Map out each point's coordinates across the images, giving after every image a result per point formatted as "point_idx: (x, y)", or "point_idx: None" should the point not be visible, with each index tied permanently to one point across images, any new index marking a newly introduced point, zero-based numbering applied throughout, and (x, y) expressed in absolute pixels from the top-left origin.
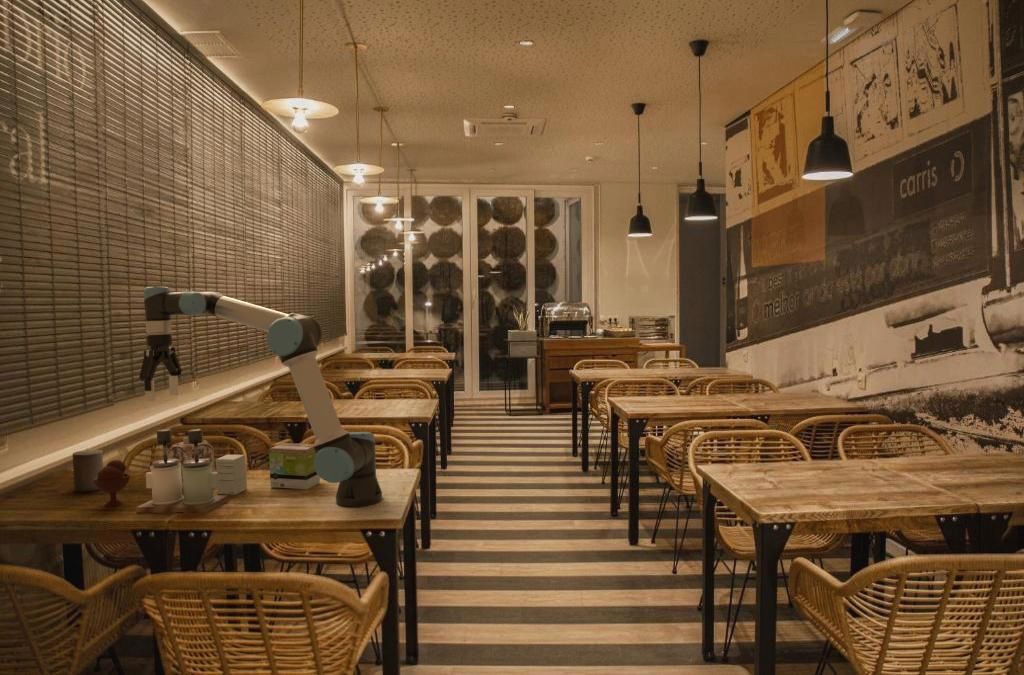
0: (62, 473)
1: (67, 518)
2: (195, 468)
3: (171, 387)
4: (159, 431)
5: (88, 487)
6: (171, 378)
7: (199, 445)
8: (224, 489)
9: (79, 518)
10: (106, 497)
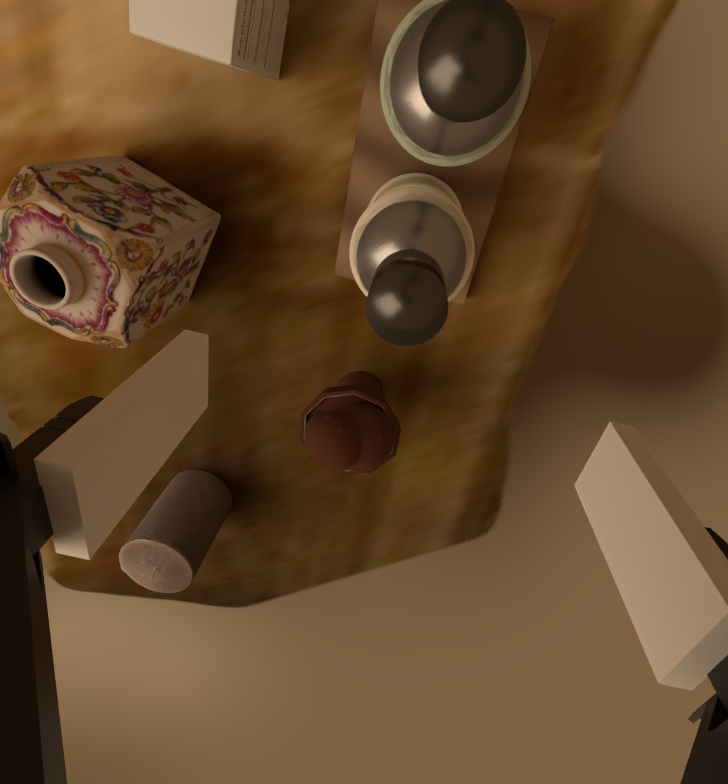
0: (78, 580)
1: (467, 449)
2: (529, 63)
3: (170, 433)
4: (436, 323)
5: (224, 493)
6: (106, 504)
7: (86, 214)
8: (280, 41)
9: (476, 423)
10: (285, 431)
